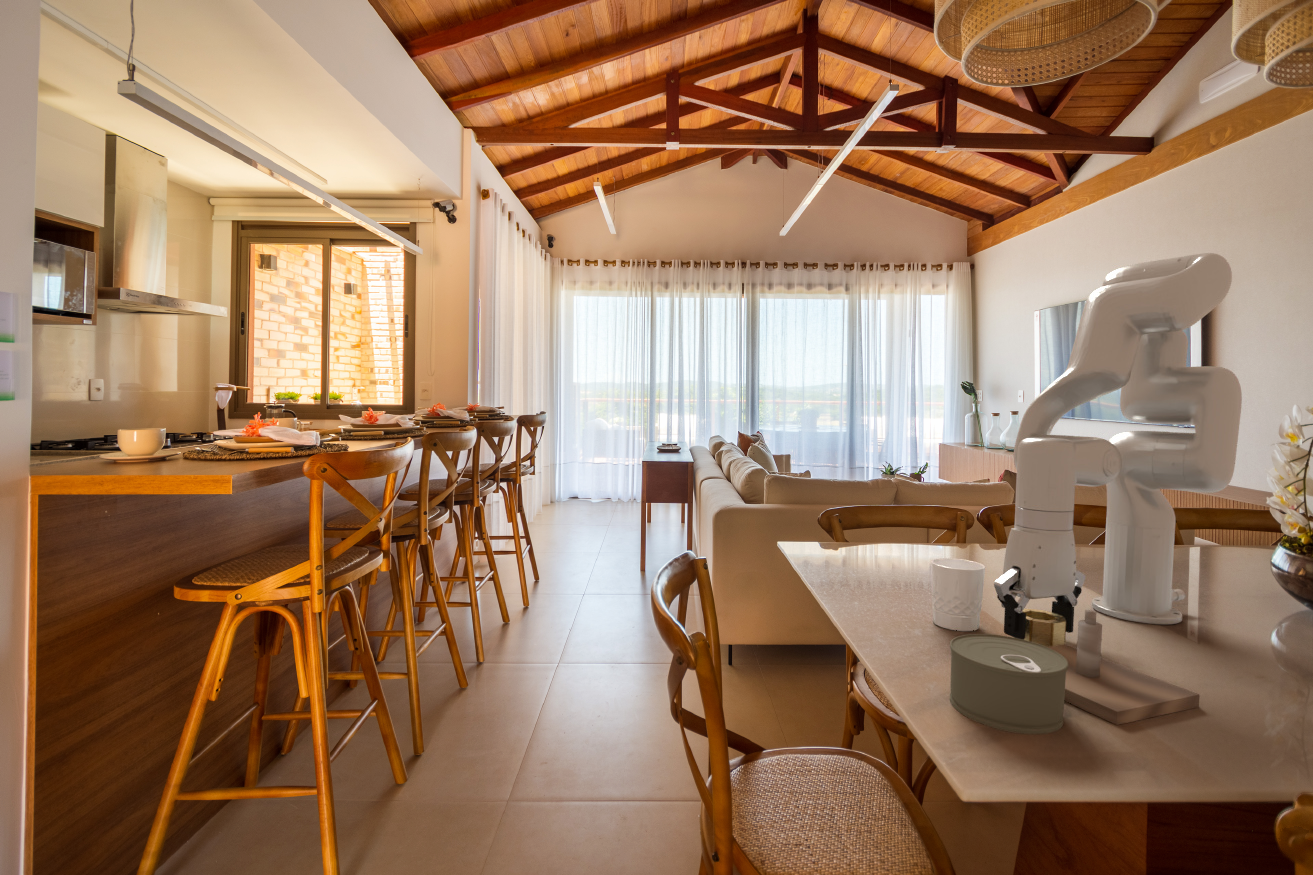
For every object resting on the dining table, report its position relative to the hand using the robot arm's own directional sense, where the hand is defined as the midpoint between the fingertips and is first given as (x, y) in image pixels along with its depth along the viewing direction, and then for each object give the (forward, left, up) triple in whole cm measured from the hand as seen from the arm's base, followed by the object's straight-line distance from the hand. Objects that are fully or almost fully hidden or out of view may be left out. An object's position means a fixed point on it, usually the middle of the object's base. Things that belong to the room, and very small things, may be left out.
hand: (1038, 633), depth 97 cm
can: (+24, +15, -2) cm, 28 cm away
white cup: (+6, -10, -2) cm, 12 cm away
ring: (0, 0, -1) cm, 1 cm away
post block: (+8, +13, -1) cm, 16 cm away
